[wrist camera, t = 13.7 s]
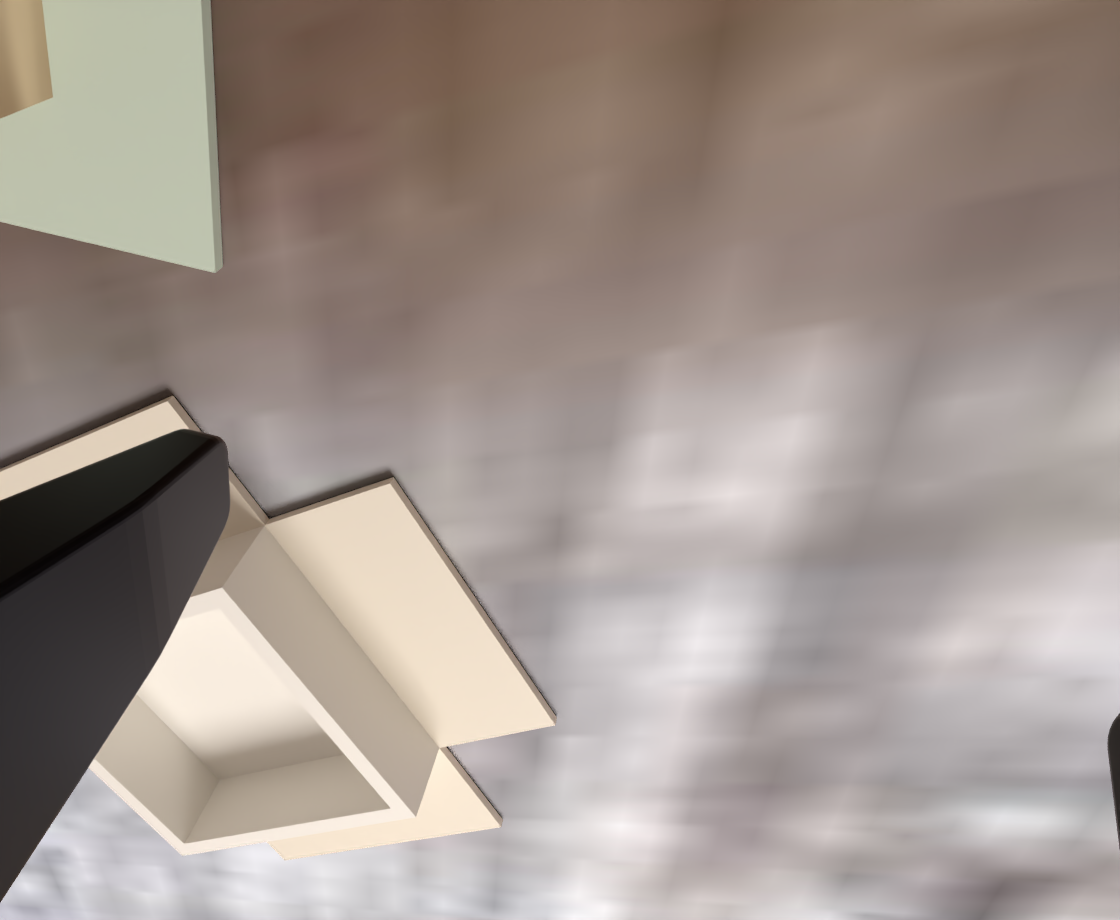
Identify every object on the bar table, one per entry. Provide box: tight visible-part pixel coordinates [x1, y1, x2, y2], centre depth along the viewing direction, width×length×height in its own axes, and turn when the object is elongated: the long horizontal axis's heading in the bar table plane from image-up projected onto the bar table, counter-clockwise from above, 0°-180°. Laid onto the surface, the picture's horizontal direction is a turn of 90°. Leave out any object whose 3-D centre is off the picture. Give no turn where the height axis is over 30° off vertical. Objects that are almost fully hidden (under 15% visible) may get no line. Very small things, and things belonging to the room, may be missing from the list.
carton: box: [0, 396, 557, 860], centre depth 30 cm, size 19×19×3 cm
